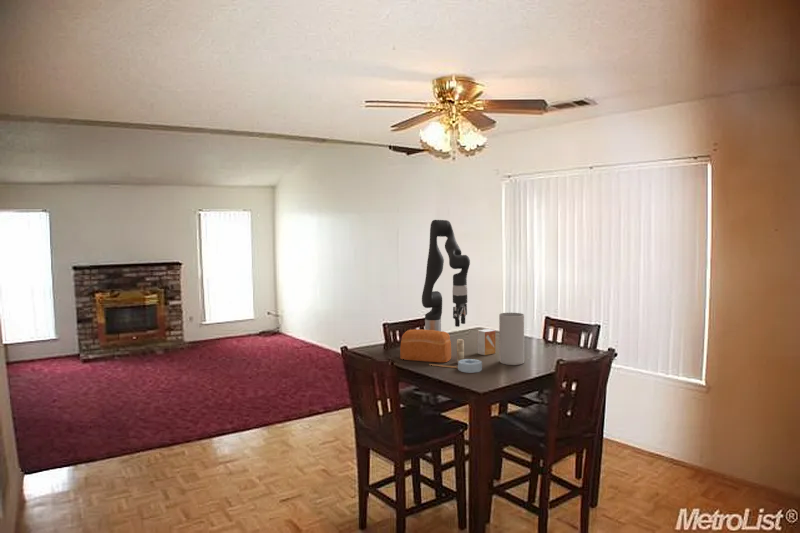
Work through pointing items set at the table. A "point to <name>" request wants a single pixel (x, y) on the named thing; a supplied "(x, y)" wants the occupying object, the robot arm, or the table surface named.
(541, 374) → the table surface
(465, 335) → the table surface
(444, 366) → the wooden stick
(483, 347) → the small box
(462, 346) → the dowel
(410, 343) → the bread
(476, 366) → the bead
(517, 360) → the cylinder vase
